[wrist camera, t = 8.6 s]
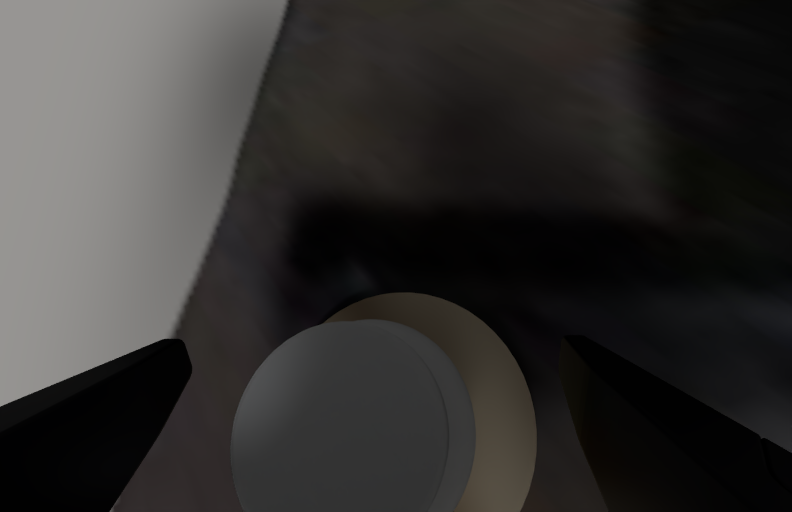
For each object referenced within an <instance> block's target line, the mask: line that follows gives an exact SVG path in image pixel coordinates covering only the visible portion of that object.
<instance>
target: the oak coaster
mask: <svg viewBox="0 0 792 512" xmlns="http://www.w3.org/2000/svg"><path fill="white" fill-rule="evenodd" d="M365 319H377V320H386V321H392V322H396V323H400V324H403V325H405V326H408V327H411V328H413V329H415V330H417V331H418V332H420V333H422V334H423V335H425V336H426V337H428V338H429V339H431V340H432V341H433V342H434V343H436V344H437V345H438V346H439V347H440V348H441V349H442V350H443V351H444V352H445V353H446V355H447V356H448V357H449V358H450V359H451V361H452V362H453V364H454V365H455V367H456V368H457V370H458V371H459V373H460V375H461V377H462V379H463V381H464V383H465V385H466V388H467V390H468V393H469V396H470V399H471V403H472V407H473V412H474V418H475V427H476V448H475V456H474V461H473V466H472V470H471V474H470V477H469V480H468V483H467V486H466V488H465V491H464V493H463V495H462V497H461V499H460V501H459V503H458V505H457V506H456V508H455V510H454V511H453V512H520V511H521V509H522V506H523V504H524V502H525V499H526V497H527V494H528V492H529V488H530V485H531V481H532V477H533V474H534V468H535V460H536V453H537V429H536V420H535V412H534V407H533V403H532V399H531V395H530V392H529V389H528V386H527V383H526V381H525V378H524V375H523V374H522V372H521V370H520V368H519V366H518V364H517V362H516V360H515V358H514V357H513V355H512V354H511V352H510V351H509V349H508V348H507V346H506V345H505V344H504V343H503V341H502V340H501V339H500V338H499V337H498V336H497V334H496V333H495V332H494V331H493V330H492V329H491V328H490V327H488V326H487V325H486V324H485V323H484V322H483V321H482V320H480V319H479V318H478V317H476V316H475V315H473V314H472V313H471V312H469V311H468V310H466V309H464V308H462V307H460V306H458V305H456V304H454V303H452V302H449V301H447V300H444V299H442V298H438V297H434V296H430V295H426V294H419V293H410V292H408V293H389V294H381V295H377V296H373V297H370V298H366V299H363V300H361V301H358V302H356V303H353V304H351V305H350V306H348V307H346V308H344V309H342V310H340V311H339V312H337V313H336V314H335V315H333V316H332V317H330V318H329V319H328V320H326V321H325V322H324V323H323V324H325V323H330V322H339V321H357V320H365Z"/></svg>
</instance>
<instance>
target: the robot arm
mask: <svg viewBox="0 0 792 512" xmlns="http://www.w3.org/2000/svg"><path fill="white" fill-rule="evenodd" d="M191 374H192V364H191V361H190V358H189V355H188V352H187V349H186V346H185V344H184V342H183V341H182V340H180V339H163V340H160V341H158V342H155V343H153V344H150V345H148V346H145V347H143V348H141V349H138V350H136V351H133V352H131V353H129V354H126V355H124V356H122V357H119V358H116V359H114V360H112V361H109V362H107V363H104V364H102V365H100V366H97V367H95V368H92V369H90V370H88V371H85V372H83V373H80V374H78V375H76V376H73V377H71V378H68V379H66V380H64V381H61V382H59V383H56V384H54V385H51V386H49V387H46V388H44V389H42V390H39V391H37V392H34V393H32V394H30V395H27V396H25V397H22V398H20V399H18V400H15V401H13V402H10V403H8V404H6V405H3V406H1V407H0V512H110V510H111V508H112V507H113V505H114V504H115V502H116V501H117V499H118V498H119V496H120V495H121V493H122V492H123V490H124V489H125V487H126V485H127V484H128V482H129V481H130V479H131V478H132V476H133V475H134V473H135V472H136V470H137V469H138V467H139V465H140V464H141V462H142V461H143V459H144V458H145V456H146V455H147V453H148V452H149V450H150V449H151V447H152V446H153V444H154V442H155V441H156V439H157V438H158V436H159V434H160V433H161V431H162V429H163V427H164V426H165V424H166V422H167V420H168V418H169V416H170V414H171V412H172V411H173V409H174V407H175V405H176V403H177V401H178V399H179V397H180V396H181V394H182V392H183V390H184V388H185V386H186V384H187V382H188V381H189V379H190V377H191ZM559 376H560V380H561V383H562V387H563V390H564V393H565V396H566V400H567V403H568V406H569V410H570V413H571V416H572V420H573V423H574V426H575V430H576V433H577V436H578V439H579V442H580V445H581V447H582V450H583V452H584V455H585V457H586V459H587V462H588V464H589V466H590V469H591V471H592V473H593V476H594V478H595V480H596V483H597V485H598V487H599V490H600V492H601V494H602V497H603V499H604V501H605V504H606V506H607V508H608V511H609V512H792V453H790V452H789V451H787V450H785V449H783V448H782V447H780V446H778V445H776V444H775V443H773V442H771V441H769V440H768V439H765V438H762V439H761V437H760V436H759V435H758V434H757V433H755V432H753V431H751V430H750V429H748V428H746V427H744V426H743V425H741V424H739V423H737V422H736V421H734V420H732V419H730V418H728V417H727V416H725V415H723V414H721V413H720V412H718V411H716V410H714V409H713V408H711V407H709V406H707V405H705V404H704V403H702V402H700V401H698V400H697V399H695V398H693V397H691V396H690V395H688V394H686V393H684V392H682V391H681V390H679V389H677V388H675V387H674V386H672V385H670V384H668V383H667V382H665V381H663V380H661V379H659V378H658V377H656V376H654V375H652V374H651V373H649V372H647V371H645V370H644V369H642V368H640V367H638V366H636V365H635V364H633V363H631V362H629V361H628V360H626V359H624V358H622V357H621V356H619V355H617V354H615V353H613V352H612V351H610V350H608V349H606V348H605V347H603V346H601V345H599V344H598V343H596V342H594V341H592V340H590V339H589V338H587V337H585V336H582V335H566V336H564V337H563V338H562V341H561V349H560V358H559Z"/></svg>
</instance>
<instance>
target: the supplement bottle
mask: <svg viewBox="0 0 792 512" xmlns="http://www.w3.org/2000/svg"><path fill="white" fill-rule="evenodd" d="M475 448H476V427H475V418H474V412H473V407H472V403H471V399H470V396H469V393H468V390H467V388H466V385H465V383H464V381H463V379H462V377H461V375H460V373H459V371H458V370H457V368H456V367H455V365H454V364H453V362H452V361H451V359H450V358H449V357H448V356H447V355H446V353H445V352H444V351H443V350H442V349H441V348H440V347H439V346H438V345H437V344H436V343H434V342H433V341H432V340H431V339H429V338H428V337H426V336H425V335H423V334H422V333H420V332H418V331H417V330H415V329H413V328H411V327H408V326H405V325H403V324H400V323H396V322H392V321H386V320H377V319H365V320H357V321H339V322H330V323H325V324H321V325H318V326H314V327H311V328H309V329H306V330H304V331H302V332H300V333H298V334H297V335H295V336H293V337H291V338H290V339H288V340H287V341H285V342H284V343H283V344H282V345H280V346H279V347H278V348H276V349H275V350H274V351H273V352H272V353H271V354H270V355H269V356H268V357H267V359H266V360H265V361H264V362H263V363H262V364H261V365H260V367H259V368H258V369H257V371H256V372H255V374H254V375H253V377H252V378H251V380H250V382H249V383H248V385H247V387H246V389H245V391H244V393H243V395H242V398H241V401H240V403H239V406H238V409H237V412H236V415H235V418H234V424H233V429H232V435H231V449H230V456H231V470H232V476H233V482H234V486H235V489H236V492H237V496H238V499H239V502H240V504H241V506H242V508H243V510H244V512H453V511H454V510H455V508H456V506H457V505H458V503H459V501H460V499H461V497H462V495H463V493H464V491H465V488H466V486H467V483H468V480H469V477H470V474H471V470H472V466H473V461H474V456H475Z"/></svg>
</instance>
